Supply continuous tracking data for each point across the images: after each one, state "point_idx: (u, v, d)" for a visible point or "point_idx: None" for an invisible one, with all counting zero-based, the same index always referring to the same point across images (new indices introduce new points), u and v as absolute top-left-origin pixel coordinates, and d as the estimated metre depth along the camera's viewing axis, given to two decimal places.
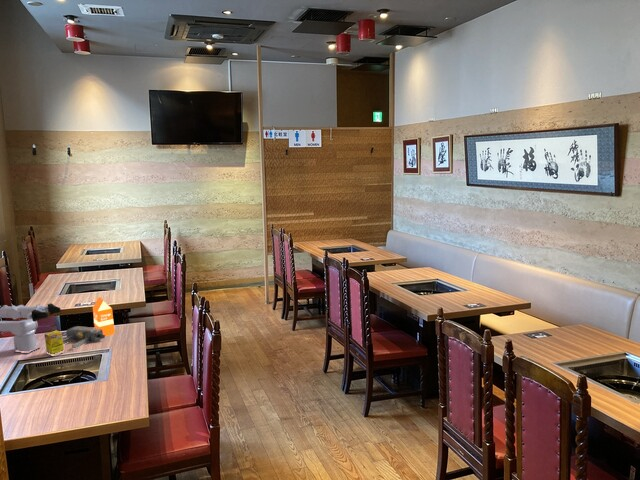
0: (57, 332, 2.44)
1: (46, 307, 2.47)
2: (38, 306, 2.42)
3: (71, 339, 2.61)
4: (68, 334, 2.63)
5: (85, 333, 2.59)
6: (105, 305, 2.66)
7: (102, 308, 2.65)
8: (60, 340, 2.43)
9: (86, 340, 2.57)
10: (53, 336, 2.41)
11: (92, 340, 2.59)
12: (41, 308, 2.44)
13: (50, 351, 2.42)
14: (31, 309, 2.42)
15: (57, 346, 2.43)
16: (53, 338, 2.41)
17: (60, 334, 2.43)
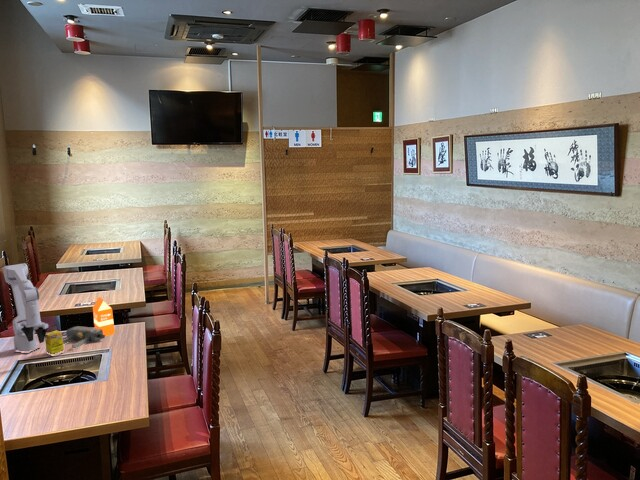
0: (57, 332, 2.44)
1: None
2: None
3: (71, 339, 2.61)
4: (68, 334, 2.63)
5: (85, 333, 2.59)
6: (105, 305, 2.66)
7: (102, 308, 2.65)
8: (60, 340, 2.43)
9: (86, 340, 2.57)
10: (53, 336, 2.41)
11: (92, 340, 2.59)
12: None
13: (50, 351, 2.42)
14: (26, 319, 2.30)
15: (57, 346, 2.43)
16: (53, 338, 2.41)
17: (60, 334, 2.43)
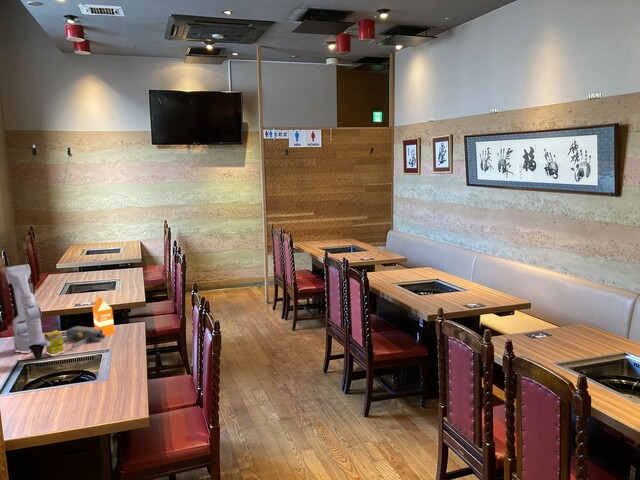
0: (57, 332, 2.44)
1: None
2: None
3: (71, 339, 2.61)
4: (68, 334, 2.63)
5: (85, 333, 2.59)
6: (105, 305, 2.66)
7: (102, 308, 2.65)
8: (60, 340, 2.43)
9: (86, 340, 2.57)
10: (53, 336, 2.41)
11: (92, 340, 2.59)
12: None
13: (50, 351, 2.42)
14: (28, 337, 2.32)
15: (57, 346, 2.43)
16: (53, 338, 2.41)
17: (60, 334, 2.43)
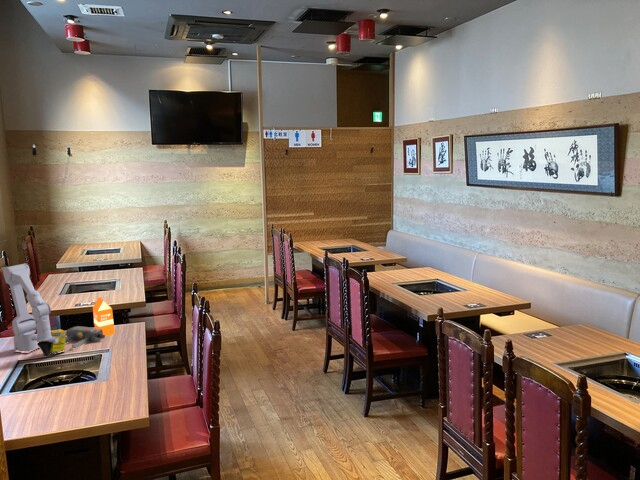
0: (61, 331, 2.45)
1: None
2: None
3: (71, 339, 2.61)
4: (68, 334, 2.63)
5: (85, 333, 2.59)
6: (105, 305, 2.66)
7: (102, 308, 2.65)
8: (62, 339, 2.44)
9: (86, 340, 2.57)
10: (57, 334, 2.42)
11: (92, 340, 2.59)
12: None
13: (51, 349, 2.42)
14: (37, 334, 2.37)
15: (59, 344, 2.43)
16: (57, 335, 2.42)
17: (64, 333, 2.45)
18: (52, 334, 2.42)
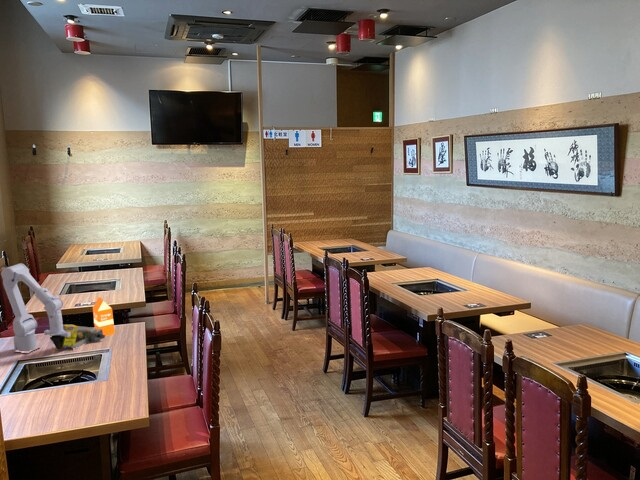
0: (74, 325, 2.53)
1: None
2: None
3: None
4: None
5: (85, 333, 2.59)
6: (105, 305, 2.66)
7: (102, 308, 2.65)
8: (74, 334, 2.51)
9: (86, 340, 2.57)
10: (70, 328, 2.49)
11: (92, 340, 2.59)
12: None
13: None
14: (50, 328, 2.44)
15: (71, 339, 2.50)
16: (70, 329, 2.49)
17: (76, 328, 2.52)
18: (65, 328, 2.49)
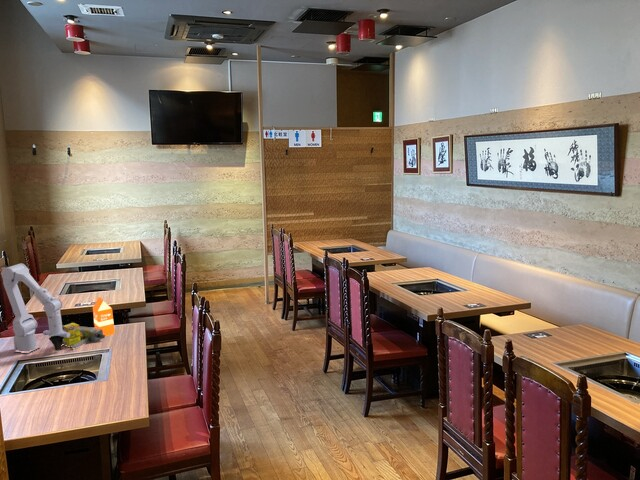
0: (74, 324, 2.54)
1: None
2: None
3: None
4: None
5: (85, 333, 2.59)
6: (105, 305, 2.66)
7: (102, 308, 2.65)
8: (77, 332, 2.54)
9: (86, 340, 2.57)
10: (71, 328, 2.51)
11: (92, 340, 2.59)
12: None
13: (68, 342, 2.52)
14: (49, 329, 2.43)
15: (75, 337, 2.53)
16: (71, 329, 2.51)
17: (77, 326, 2.54)
18: (66, 329, 2.51)
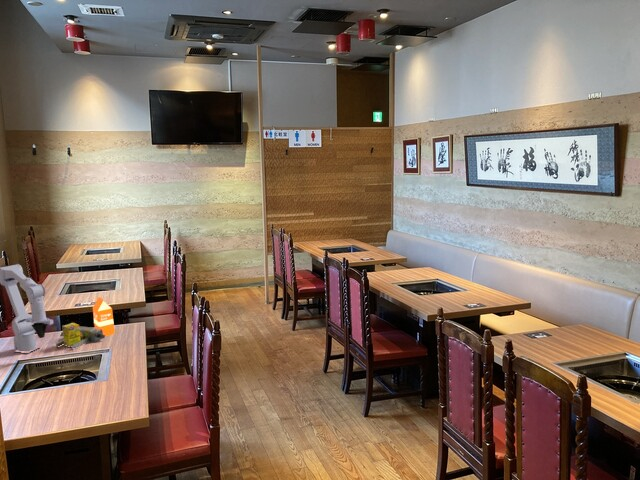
0: (74, 324, 2.54)
1: None
2: None
3: None
4: None
5: (85, 333, 2.59)
6: (105, 305, 2.66)
7: (102, 308, 2.65)
8: (77, 332, 2.54)
9: (86, 340, 2.57)
10: (71, 328, 2.51)
11: (92, 340, 2.59)
12: None
13: (68, 342, 2.52)
14: (31, 315, 2.36)
15: (75, 337, 2.53)
16: (71, 329, 2.51)
17: (77, 326, 2.54)
18: (66, 329, 2.51)
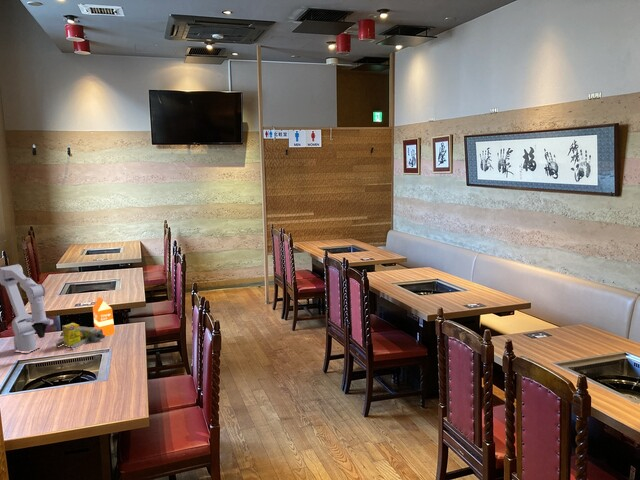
0: (74, 324, 2.54)
1: None
2: None
3: None
4: None
5: (85, 333, 2.59)
6: (105, 305, 2.66)
7: (102, 308, 2.65)
8: (77, 332, 2.54)
9: (86, 340, 2.57)
10: (71, 328, 2.51)
11: (92, 340, 2.59)
12: None
13: (68, 342, 2.52)
14: (31, 315, 2.36)
15: (75, 337, 2.53)
16: (71, 329, 2.51)
17: (77, 326, 2.54)
18: (66, 329, 2.51)
